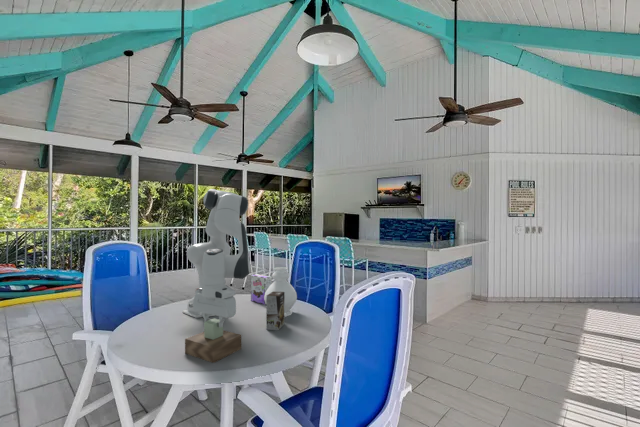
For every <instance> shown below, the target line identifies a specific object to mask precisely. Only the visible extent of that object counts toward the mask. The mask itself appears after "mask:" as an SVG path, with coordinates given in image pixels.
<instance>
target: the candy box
mask: <svg viewBox="0 0 640 427" xmlns="http://www.w3.org/2000/svg"><path fill="white" fill-rule="evenodd" d="M272 283H273V277H272V275H270V276H268V275H264V274H259V273H256V274H251V275H250V301H251V302H254V303H258V304H262V305H267V304H266V303H265V300H264V295H265V292H266V290H267V289H268V288H269V286H270V285H271V284H272Z"/></svg>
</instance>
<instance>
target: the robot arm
mask: <svg viewBox="0 0 640 427" xmlns="http://www.w3.org/2000/svg"><path fill="white" fill-rule="evenodd" d="M203 206H204V207H205V208H206V209H208V210H210V212H209V216H208V219H207V222H206V227H205V228H204V229H205V233H206V235H207V236H208V237H209V241H208V242H199V243H195V244H192V245H190V246H189V247H188V248H187V252H186V257H187V260H189V262H190V263H191V264H192V265H194V267H195V268H196V271H197V274H198V288H196V289H195V293H194V294H195V295H194V296H193V297H192V298H191V299H189V300H188V302H187V308H186V309H183V310H182V313H183V314H185V315H187V316H191V317H193V318H195V319H197V318H203V320H204V322H206V321H208V320H211V319H212V318H210V317H218V319H219V320H220V321H219V322H218V323H217V327H220V328H221V327H223V328H224V322H225V320H226V319H230V318H232V317H234V316H235V315H236V312H237V300H236V298H235V296H236V290H235V289H234V288H232V287H230V286H229V285H227V284H226V279H241V280H242V279H244V278H246V277H247V276H249V274H250V273H251V269H252V266H251V260H250V256H249V245H248V244H249V243H248V237H247V230H246V229H247V228H246V226H245V224H244V223H242V222H241V220H240V216H243V215H245V214H246V213H247V211H248V209H249V200H248V198H247V197H245V196H244V195H239V194H236V193H233V192H229V191H224V190H217V189H215V188H210V189H208V190H207V191H206V192H205V194H204V196H203ZM227 235H228V236H231V237H232V238H233V237H234V238H235V239H237V245H238V246H237V248H238V253H237V254H231V251H232V250H231V246H230V244H229V243H228V242H227Z"/></svg>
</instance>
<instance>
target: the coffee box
mask: <svg viewBox="0 0 640 427" xmlns="http://www.w3.org/2000/svg"><path fill="white" fill-rule="evenodd" d="M284 293H285V292H271V293H270V294H268V295H267V304H266V310H265V311H266V314H265V315H266V318H265V319H266V325H265V326H266V328H265V329H266V330H269V331H271V330H272V331H279V330H280V329H282V327H283V326H284V325H285V317H284Z"/></svg>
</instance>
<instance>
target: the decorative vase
mask: <svg viewBox="0 0 640 427" xmlns="http://www.w3.org/2000/svg"><path fill="white" fill-rule="evenodd" d="M288 269H289V268H288V267H286V266H278V267H277V266H276V267H274V268H273V270H274V272H273V273H272V275H271V277H272V280H274V281H272V284H271V285H270V286H269V288H268V289H267V290H266V292H265V295H264V300H265V303H266V304H265V305H267V295H268V294H270V293H271V292H285V293H284V318H286V317H290V316H291V315H292V314H293V311H292V310H291V309H292V307H293V306H294V305H295V304H296V302H297V299H298V294H297V291H296V289H295V288H294V286H293V285H292V284H291V283H290V282H289V281H287V280H288V279H289V277H290V273H289V272H288Z"/></svg>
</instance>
